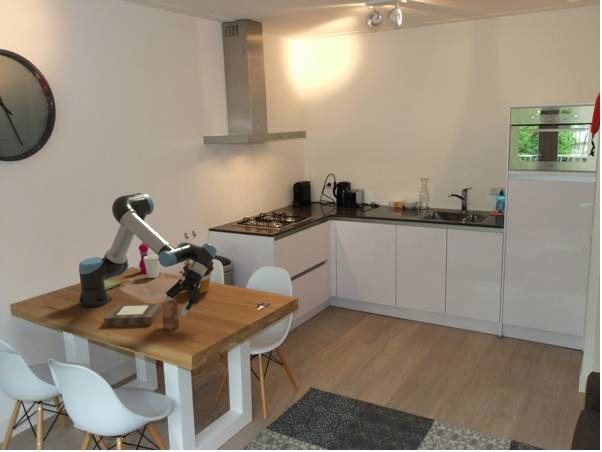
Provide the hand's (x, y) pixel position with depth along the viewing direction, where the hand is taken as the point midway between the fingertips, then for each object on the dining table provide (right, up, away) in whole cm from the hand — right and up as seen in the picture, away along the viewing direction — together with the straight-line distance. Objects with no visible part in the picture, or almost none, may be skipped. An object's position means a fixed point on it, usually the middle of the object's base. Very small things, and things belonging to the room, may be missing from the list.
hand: (172, 312), depth 242 cm
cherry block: (-1, -7, +1) cm, 7 cm away
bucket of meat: (+2, +3, +53) cm, 53 cm away
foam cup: (-32, +8, +83) cm, 89 cm away
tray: (-22, -5, +13) cm, 26 cm away
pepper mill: (-41, +10, +96) cm, 104 cm away
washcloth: (-57, +4, +68) cm, 89 cm away
